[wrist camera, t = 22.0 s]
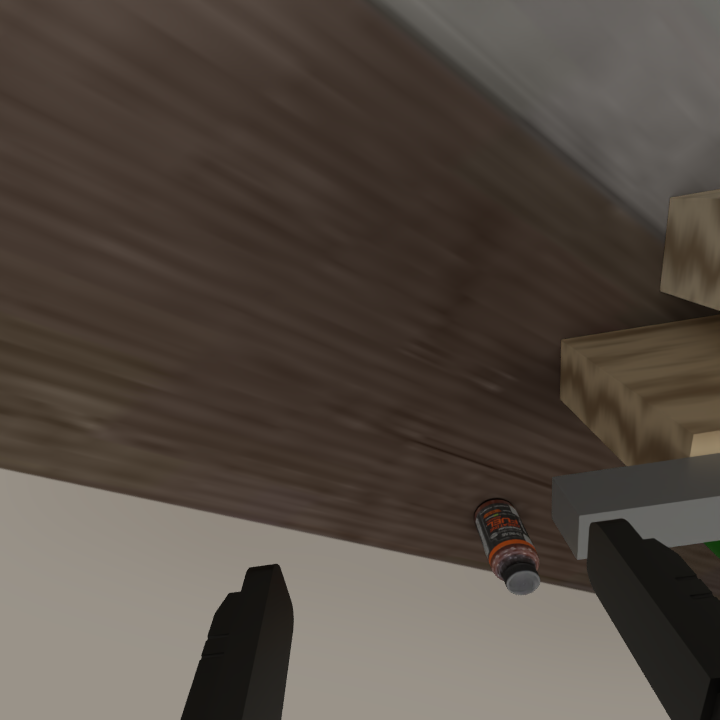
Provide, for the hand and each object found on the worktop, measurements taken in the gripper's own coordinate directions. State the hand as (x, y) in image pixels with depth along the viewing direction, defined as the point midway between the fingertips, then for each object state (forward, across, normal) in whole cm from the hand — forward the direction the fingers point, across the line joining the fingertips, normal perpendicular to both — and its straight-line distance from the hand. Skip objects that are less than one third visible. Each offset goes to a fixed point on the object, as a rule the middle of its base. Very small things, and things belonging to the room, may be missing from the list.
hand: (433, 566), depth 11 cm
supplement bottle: (+38, -12, +36) cm, 54 cm away
